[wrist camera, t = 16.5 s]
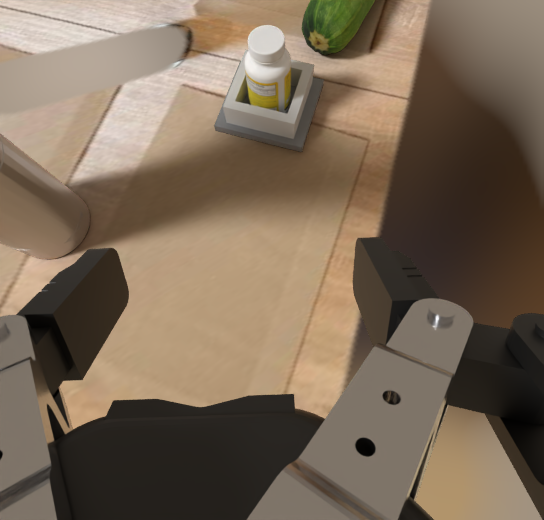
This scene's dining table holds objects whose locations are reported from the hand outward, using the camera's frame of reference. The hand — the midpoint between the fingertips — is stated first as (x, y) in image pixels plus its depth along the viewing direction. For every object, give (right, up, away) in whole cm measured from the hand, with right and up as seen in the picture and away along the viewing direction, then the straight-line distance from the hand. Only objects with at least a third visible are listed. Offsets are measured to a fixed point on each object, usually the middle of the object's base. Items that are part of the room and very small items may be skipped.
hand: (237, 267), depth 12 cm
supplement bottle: (+1, +21, +35) cm, 41 cm away
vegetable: (+13, +36, +40) cm, 56 cm away
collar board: (+1, +21, +36) cm, 41 cm away
